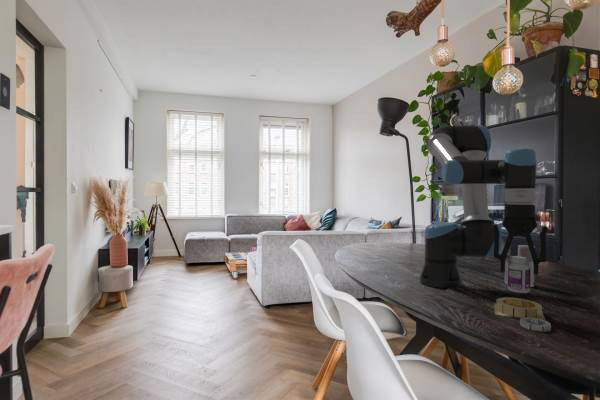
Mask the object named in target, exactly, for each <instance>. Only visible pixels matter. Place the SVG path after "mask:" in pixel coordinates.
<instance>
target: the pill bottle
mask: <svg viewBox="0 0 600 400" xmlns="http://www.w3.org/2000/svg"><path fill="white" fill-rule="evenodd" d="M510 262H511V263H508V284H507V289H508V290H509V291H511V292H513V293H519V294H521V293H522V294H528V293H530V290H531V287H530V267H529V266H528V265H527V264H526V263H527V258H526V257H520V256H518V255H512V256H510Z"/></svg>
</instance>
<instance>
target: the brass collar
mask: <svg viewBox="0 0 600 400" xmlns="http://www.w3.org/2000/svg"><path fill="white" fill-rule="evenodd" d="M495 301H496V303H495V304H496V310H497V311H498V312H500V313H502V314H505V315H508V316H507V317H509V316H512V317H511V318H516V317H517V318H516V319H520V318H525V317H528V318H529V317H530V318H540V317H542V313H543V306H542V305H541V304H540V303H538V302H536V301H533V300H530V299H529V300H528V299H524V298H519V297H500V298H497V299H496V300H495Z"/></svg>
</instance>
